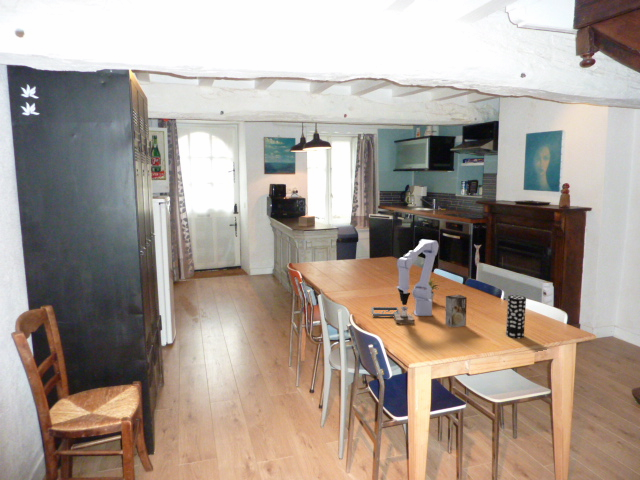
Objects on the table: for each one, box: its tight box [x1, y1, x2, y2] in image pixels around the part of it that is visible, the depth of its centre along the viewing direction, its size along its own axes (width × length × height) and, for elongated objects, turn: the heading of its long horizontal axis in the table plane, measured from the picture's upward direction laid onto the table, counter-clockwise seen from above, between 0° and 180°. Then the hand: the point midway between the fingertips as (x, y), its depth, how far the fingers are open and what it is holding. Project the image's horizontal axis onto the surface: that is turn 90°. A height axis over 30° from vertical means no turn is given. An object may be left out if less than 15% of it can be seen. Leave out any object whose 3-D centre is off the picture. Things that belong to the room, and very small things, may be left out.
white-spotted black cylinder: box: [505, 294, 527, 339], centre depth 233 cm, size 8×8×20 cm
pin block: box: [393, 313, 416, 325], centre depth 258 cm, size 10×10×2 cm
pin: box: [400, 306, 409, 318], centre depth 258 cm, size 4×4×8 cm
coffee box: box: [445, 294, 468, 328], centre depth 250 cm, size 9×6×16 cm
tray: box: [370, 306, 402, 317], centre depth 272 cm, size 16×14×2 cm
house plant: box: [424, 277, 440, 303], centre depth 296 cm, size 14×14×16 cm
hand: (403, 302), depth 257 cm, fingers open, 7 cm apart
